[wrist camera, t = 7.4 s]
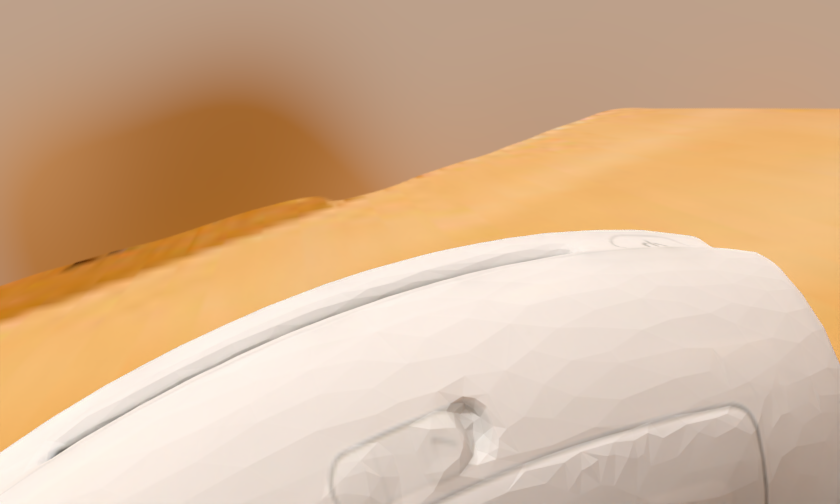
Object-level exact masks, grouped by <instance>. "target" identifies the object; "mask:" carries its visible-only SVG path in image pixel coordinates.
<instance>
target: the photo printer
mask: <svg viewBox="0 0 840 504" xmlns="http://www.w3.org/2000/svg"><path fill="white" fill-rule="evenodd" d="M0 504H840V364H839V362H838V359H837V357H836V355H835V352H834V350H833V347H832V345H831V343H830V340H829V338H828V336H827V333H826V331H825V329H824V327H823V325H822V324H821V322H820V321H819V319H818V318H817V316H816V315H815V313H814V312H813V310H812V309H811V307H810V305H809V304H808V302H807V301H806V299H805V298H804V296H803V295H802V293H801V292H800V291H799V290H798V289H797V288H796V286H795V285H794V284H793V283H792V282H791V281H790V279H789V278H788V277H787V276H786V275H785V274H784V272H783V271H782V270H781V269H780V268H779V267H778V266H777V265H776V264H774V263H773V262H772V261H771V260H769V259H767V258H766V257H764V256H762V255H760V254H758V253H756V252H750V251H742V250H734V249H725V248H713V247H711V246H709V245H707V244H706V243H705V242H703V241H702V240H700V239H699V238H696V237H693V236H688V235H680V234H671V233H662V232H654V231H645V230H589V231H572V232H557V233H543V234H536V235H529V236H521V237H513V238H506V239H501V240H495V241H489V242H483V243H478V244H473V245H468V246H463V247H458V248H453V249H447V250H443V251H439V252H434V253H430V254H426V255H421V256H418V257H414V258H411V259H407V260H404V261H400V262H396V263H393V264H389V265H385V266H382V267H378V268H374V269H370V270H367V271H364V272H361V273H358V274H355V275H352V276H349V277H346V278H343V279H340V280H337V281H334V282H330V283H327V284H324V285H322V286H319V287H317V288H314V289H311V290H309V291H306V292H304V293H301V294H298V295H296V296H293V297H290V298H288V299H285V300H283V301H280V302H277V303H275V304H272V305H270V306H267V307H264V308H262V309H260V310H258V311H255V312H253V313H251V314H249V315H247V316H244V317H242V318H240V319H238V320H235V321H233V322H231V323H229V324H226V325H224V326H222V327H220V328H217V329H215V330H213V331H211V332H209V333H207V334H205V335H202V336H200V337H198V338H196V339H194V340H192V341H190V342H187V343H185V344H183V345H181V346H179V347H177V348H175V349H173V350H171V351H169V352H167V353H165V354H163V355H162V356H160V357H158V358H156V359H154V360H152V361H150V362H148V363H146V364H144V365H142V366H140V367H139V368H137V369H135V370H133V371H131V372H129V373H128V374H126V375H124V376H122V377H120V378H118V379H116V380H115V381H113V382H111V383H109V384H107V385H105V386H104V387H102V388H100V389H99V390H97V391H95V392H94V393H92V394H90V395H89V396H87V397H85V398H84V399H82V400H81V401H79V402H77V403H76V404H74V405H72V406H71V407H69V408H67V409H66V410H64V411H62V412H61V413H59V414H57V415H56V416H54V417H52V418H51V419H49V420H48V421H46V422H45V423H43V424H42V425H40V426H39V427H37V428H36V429H34V430H33V431H31V432H30V433H29V434H27V435H26V436H24V437H23V438H21V439H20V440H18V441H17V442H15V443H14V444H12V445H11V446H9V447H8V448H6V449H5V450H3V451H2V452H0Z"/></svg>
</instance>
